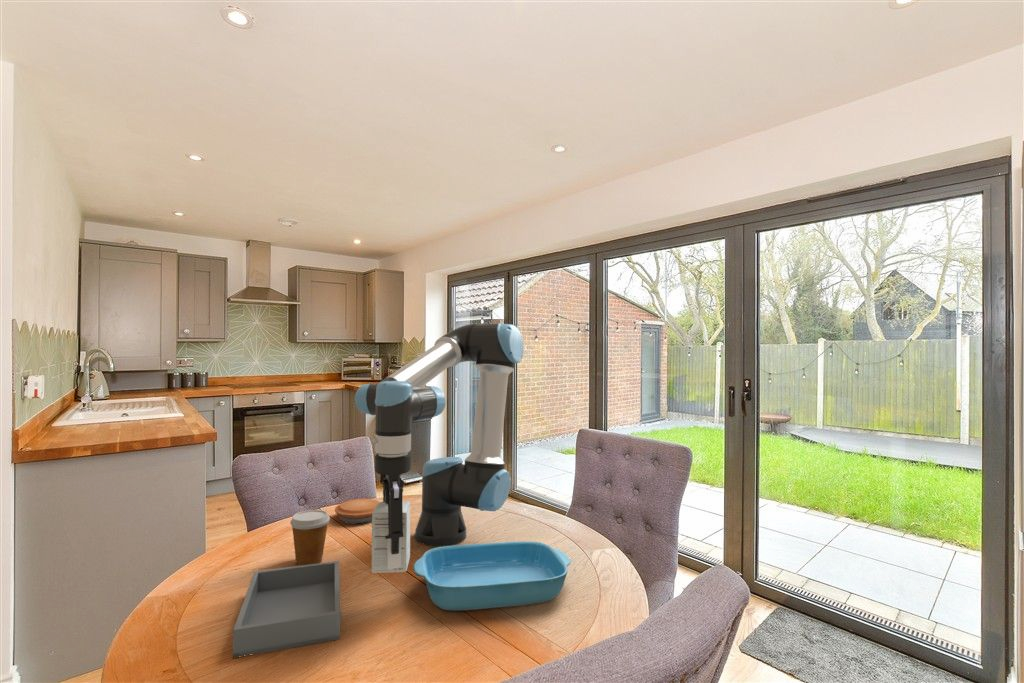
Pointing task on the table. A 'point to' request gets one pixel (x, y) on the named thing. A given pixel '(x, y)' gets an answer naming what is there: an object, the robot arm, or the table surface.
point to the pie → (356, 510)
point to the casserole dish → (492, 574)
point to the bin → (289, 609)
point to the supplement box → (380, 543)
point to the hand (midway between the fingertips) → (391, 558)
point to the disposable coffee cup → (309, 535)
